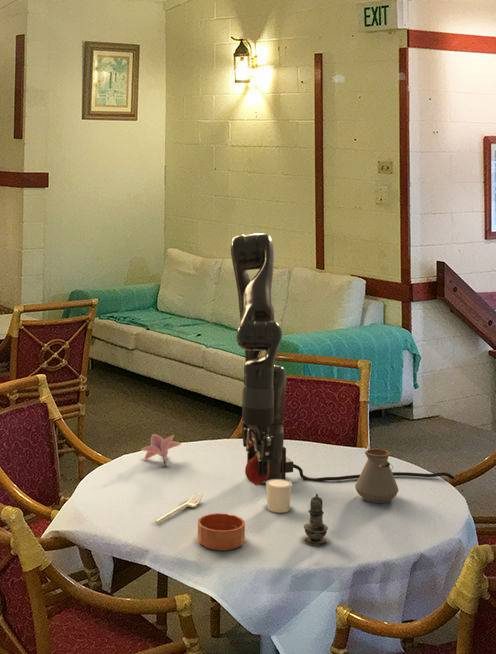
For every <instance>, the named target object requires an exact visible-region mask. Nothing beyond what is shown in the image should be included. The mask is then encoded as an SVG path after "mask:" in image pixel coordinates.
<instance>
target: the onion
mask: <svg viewBox="0 0 496 654" xmlns="http://www.w3.org/2000/svg"><path fill="white" fill-rule="evenodd" d="M244 473H245V476H246V478H247V479H248V481H250V482H251V484H253V485H255V486H260V485H261V484H263V483H262V482H263V481H265V480H266V479H267V477H268V475H269V466H268V470H267V475H266V476H259V475H258V456H257V453H256V455H255V456H254V457H253V458H251V459H250V460H249V461H248V463H247V462H246V465H245V468H244Z"/></svg>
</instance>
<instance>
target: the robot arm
mask: <svg viewBox="0 0 496 654" xmlns="http://www.w3.org/2000/svg"><path fill="white" fill-rule="evenodd" d="M230 257H231V262H232V267H233V272H234V278H235V282H236V289H237V297H238V309H239V319H240V320H239V321H240V322H239V325H238V327H237V331H236V342H237V345H238V346H239V347H240V348H241V349H242V350H244V358H245V362H244V365H243V388H242V402H241V403H242V405H241V407H242V409H241V410H242V411H241V421H242V424H241V426H242V427H241V428H242V430H241V431H242V446H243V447H244V448H245V451H246V454H247V457H246V459H247V460H246V464H247V463H248V461H249V460H250V459H251V458H253V457H254V456H255V455H256V453H257V456H258V475H259V476H266V475H267V470H268V466H269V475H268V477H267V479H266V480H265V481H263V482H262V483H261V484H264V485H266V482H267V481H268V480H271V479H283V480H286V477H287V475H286V474H287V473H288V474H289V473H294V469H296V470H298V472H299V476H300V478H301V479H302V480H305V481H310V482H311V481H312V482H327V481H342V480H343V481H345V480H353V479H359V477H360V475H361V473H360V474H350V475H342V476H341V475H340V476H322V477H308V476H307V475H305V474H304V472H303V468H301V467H300V466H299V465H298V464H295V463H294V461H293V460H292V459H290V458H289V457H288V456H287V448H286V447H285V446H284V441H285V440H284V439H285V438H284V433H285V432H284V431H285V410H286V408H285V407H286V390H287V371H286V368H285V367H284V366H282V365H278V364H277V365H275V364H276V359H277V355H278V351H279V349H280V345H281V342H282V339H283V331H282V327H281V326H280V324H279V323H278V322H277V321H276V320H275V311H274V306H273V301H272V300H273V299H272V288H273V280H274V279H273V278H274V269H275V248H274V242H273V238H272V237H271V235H270V234H268V233H253V234H252V233H251V234H242V235H236V236H233V237H232V239H231V241H230ZM253 270H255V271H256V270H258V271H257V273H255V275H254V276H253V277H252V278H251V277H250V274H249V272H248V271H253ZM264 351H265V353H263V355H262V356H261V354H262V352H264ZM392 473H393V476H394V477H397V476H398V477H399V476H400V477H419V478H436V477H448V478H449V479H450V480H455V479H456V478H455V476H453V474H451V473H449V472H444V471H443V472H434V473H423V472H422V473H421V472H405V471H404V472H403V471H392Z"/></svg>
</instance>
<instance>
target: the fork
mask: <svg viewBox="0 0 496 654" xmlns="http://www.w3.org/2000/svg"><path fill="white" fill-rule="evenodd" d="M203 497H204V495H203V494H199V493H194V494H193V495H192V497H190V499H189V500H187V502H184V503H182V504H181V505H179V506H177V507H176V508H174V509H173V510H171V511H169V512H168V513H165V514H164V515H162V516H161V517H159V518H157V519H156V520H155V523H156V524H159V523H161V522H162V521H164V520H166V519H167V518H169V517H171V516H173V515H175V514H176V513H179V512H180V511H181V510H183V509H186V508H187V507H189V508H196V507H198V505H199V504H200V502H201V501H202V499H203Z"/></svg>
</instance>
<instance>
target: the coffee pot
mask: <svg viewBox="0 0 496 654" xmlns="http://www.w3.org/2000/svg"><path fill="white" fill-rule="evenodd" d="M364 455H365V456H366V458H367V461H366V462H365V464H364V467H363V469H362V470H361V473H360V474H361V475H360V474H359V475H360V477H359V478H357V481H356V482H355V484H354V487H355V491H356V493H357V494H358V495H359V496H360V497H361V498H362V499H363V500H364V501H366V502H369V503H373V504H386V503H389V502H390V501H391V500H392V499H394V498H395V497H396V496H397V495H398V493H399V487H398V484H397V481H396V478H395V476H393V473H392V472H393V471H392V470H393V469H394V466H393V464H391V463H390V462H389V461H388V459H389V457H390V456H391V452H390V451H389V450H386V449H382V448H369V449H367V450H365V452H364ZM391 466H392V468H391Z"/></svg>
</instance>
